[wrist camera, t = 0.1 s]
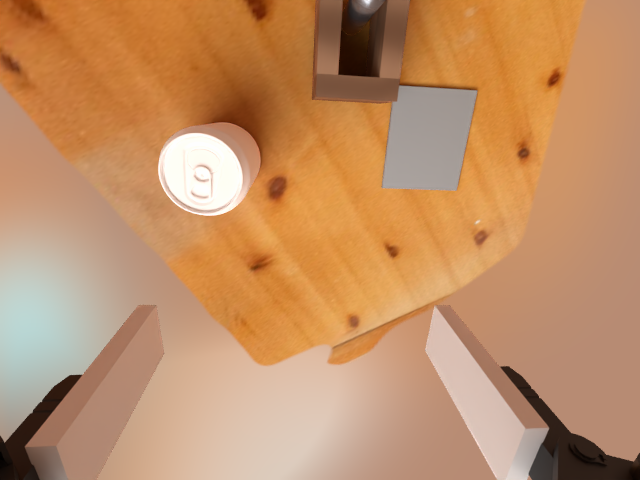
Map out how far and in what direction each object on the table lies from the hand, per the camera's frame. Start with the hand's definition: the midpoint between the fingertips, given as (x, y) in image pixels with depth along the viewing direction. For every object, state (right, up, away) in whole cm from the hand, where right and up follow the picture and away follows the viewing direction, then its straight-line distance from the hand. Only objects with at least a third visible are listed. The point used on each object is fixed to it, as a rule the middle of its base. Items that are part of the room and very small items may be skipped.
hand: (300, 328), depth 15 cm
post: (+4, +28, +19) cm, 34 cm away
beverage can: (-10, +14, +24) cm, 30 cm away
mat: (+14, +17, +25) cm, 33 cm away
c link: (+4, +25, +20) cm, 33 cm away
